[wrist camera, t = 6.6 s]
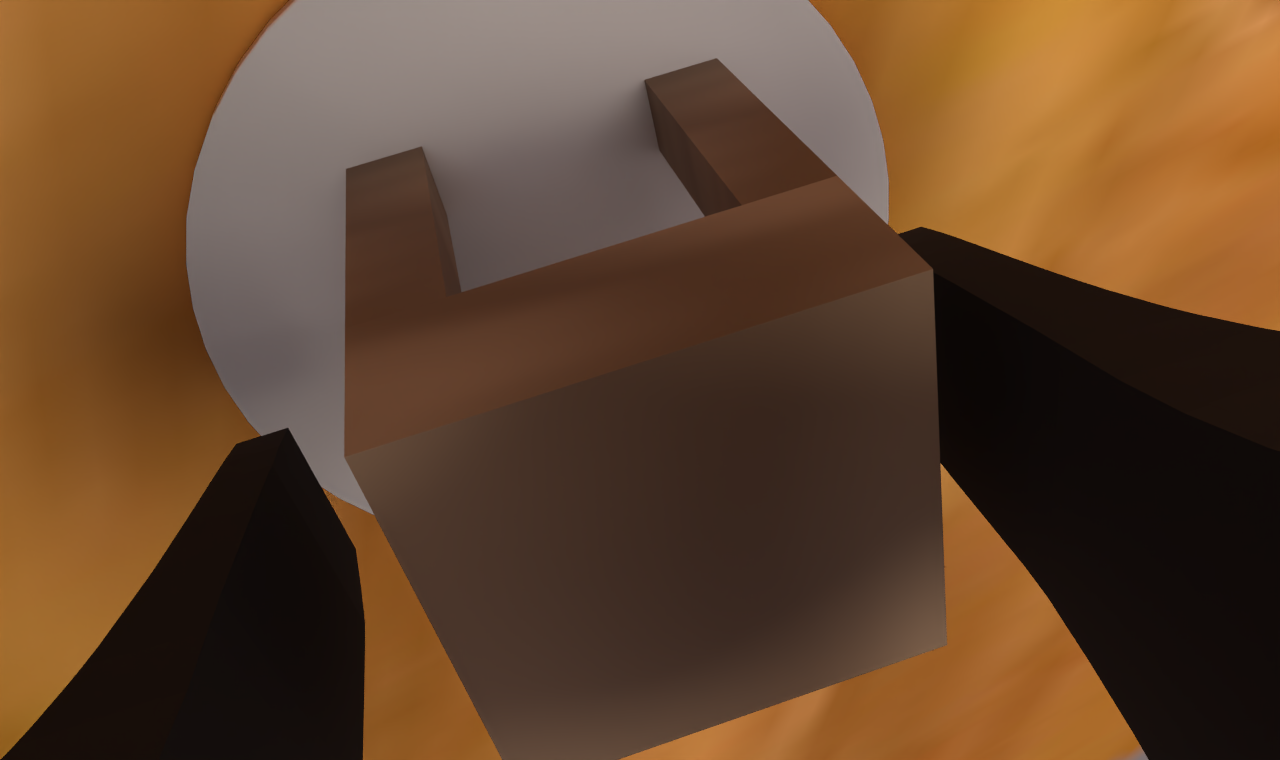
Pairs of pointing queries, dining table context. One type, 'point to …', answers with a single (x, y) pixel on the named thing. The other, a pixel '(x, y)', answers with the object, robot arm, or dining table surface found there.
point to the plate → (467, 159)
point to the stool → (654, 441)
